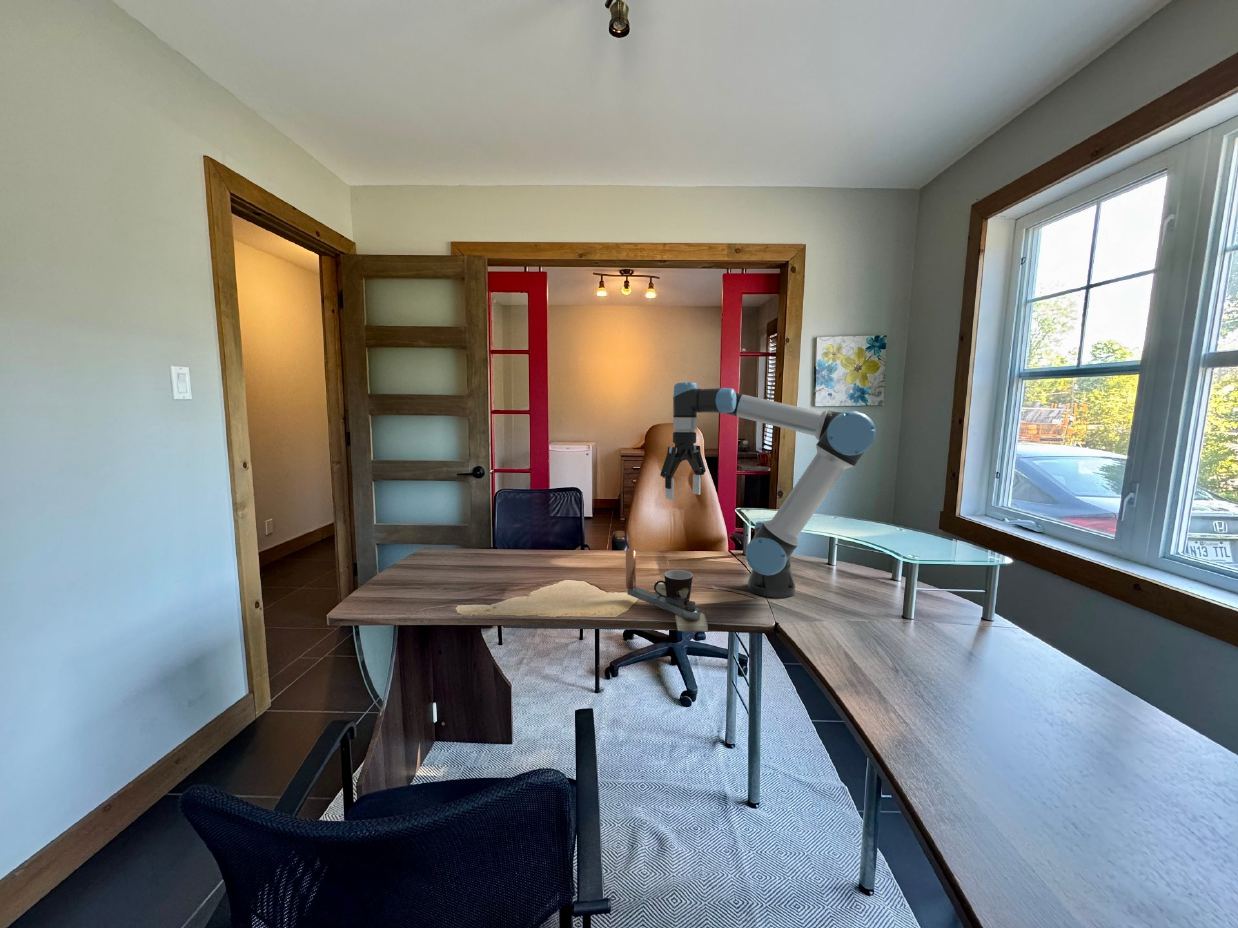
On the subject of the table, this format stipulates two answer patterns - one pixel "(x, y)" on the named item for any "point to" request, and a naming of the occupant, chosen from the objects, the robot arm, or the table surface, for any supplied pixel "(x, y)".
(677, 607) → the lever
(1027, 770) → the table surface
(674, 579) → the coffee mug
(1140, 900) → the table surface
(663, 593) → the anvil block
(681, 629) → the pivot pedestal
